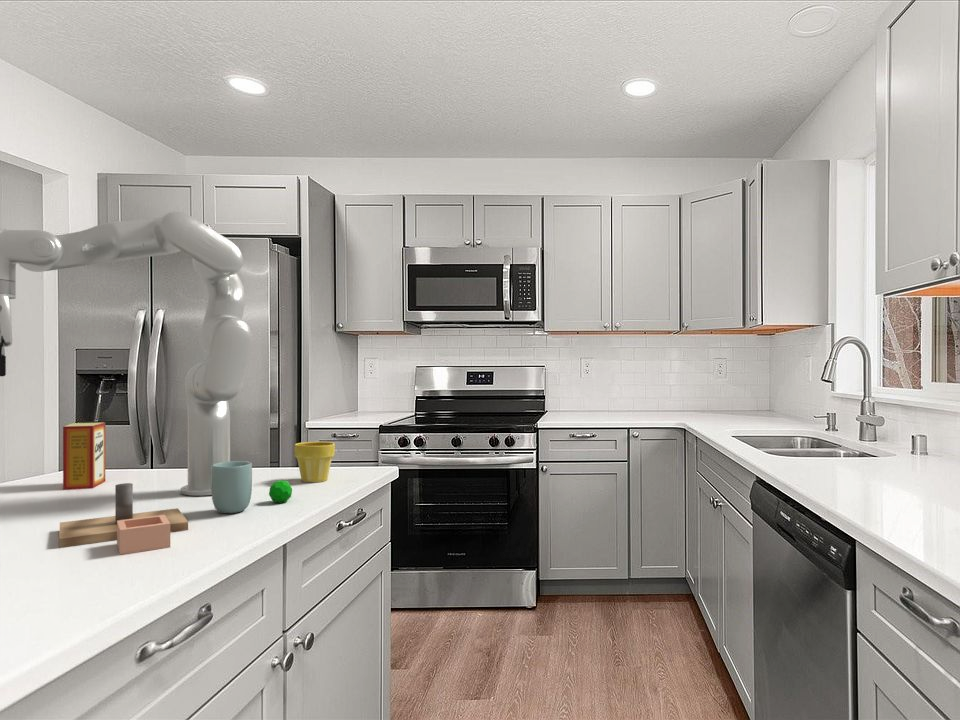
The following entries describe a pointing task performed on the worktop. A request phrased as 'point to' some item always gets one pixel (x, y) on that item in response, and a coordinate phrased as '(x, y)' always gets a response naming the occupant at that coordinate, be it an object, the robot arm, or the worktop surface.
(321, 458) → the plant pot
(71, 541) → the post board
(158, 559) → the worktop surface
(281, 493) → the polyhedron
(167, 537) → the collar
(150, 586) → the worktop surface
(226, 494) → the cup
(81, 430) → the baking soda box
